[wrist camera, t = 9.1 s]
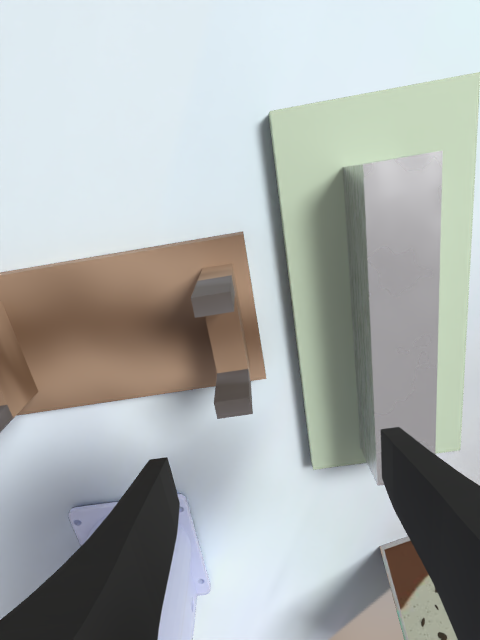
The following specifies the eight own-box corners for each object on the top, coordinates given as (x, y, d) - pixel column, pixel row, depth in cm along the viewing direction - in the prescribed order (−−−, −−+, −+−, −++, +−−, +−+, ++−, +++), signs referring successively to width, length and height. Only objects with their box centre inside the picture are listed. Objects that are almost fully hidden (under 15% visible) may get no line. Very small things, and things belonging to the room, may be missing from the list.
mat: (453, 441, 23) (460, 450, 23) (310, 460, 24) (313, 469, 23) (469, 76, 17) (480, 71, 16) (268, 114, 17) (269, 111, 16)
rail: (342, 167, 17) (363, 164, 14) (408, 155, 17) (442, 150, 14) (360, 447, 23) (377, 485, 20) (410, 440, 22) (434, 478, 20)
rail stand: (265, 369, 22) (274, 436, 16) (18, 406, 22) (-55, 482, 17) (242, 231, 19) (245, 253, 13) (-38, 278, 20) (-148, 318, 14)
